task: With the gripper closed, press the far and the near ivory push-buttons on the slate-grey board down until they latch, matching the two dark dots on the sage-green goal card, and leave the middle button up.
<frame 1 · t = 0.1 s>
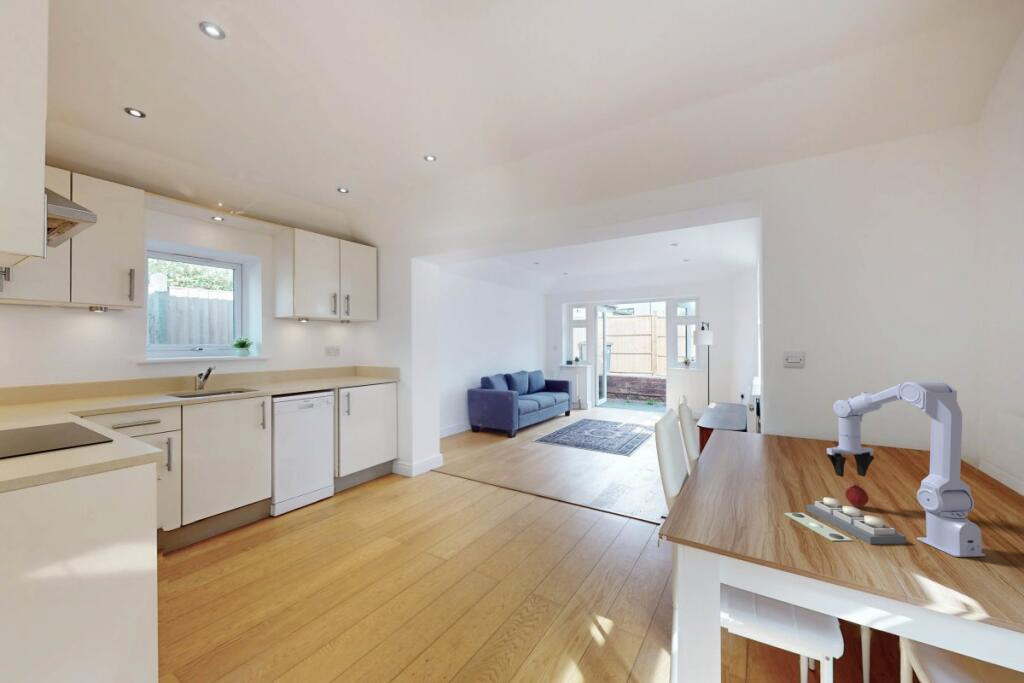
hand: (850, 475, 132), 10 cm above the table, fingers open, 7 cm apart
button middle: (851, 511, 117), point 4 cm above the table, slide at 0.0 cm
button board: (851, 525, 117), on the table
button near: (873, 521, 110), point 4 cm above the table, slide at 0.0 cm
button far: (831, 502, 124), point 4 cm above the table, slide at 0.0 cm
goal card: (816, 526, 116), on the table
onion: (857, 508, 130), on the table
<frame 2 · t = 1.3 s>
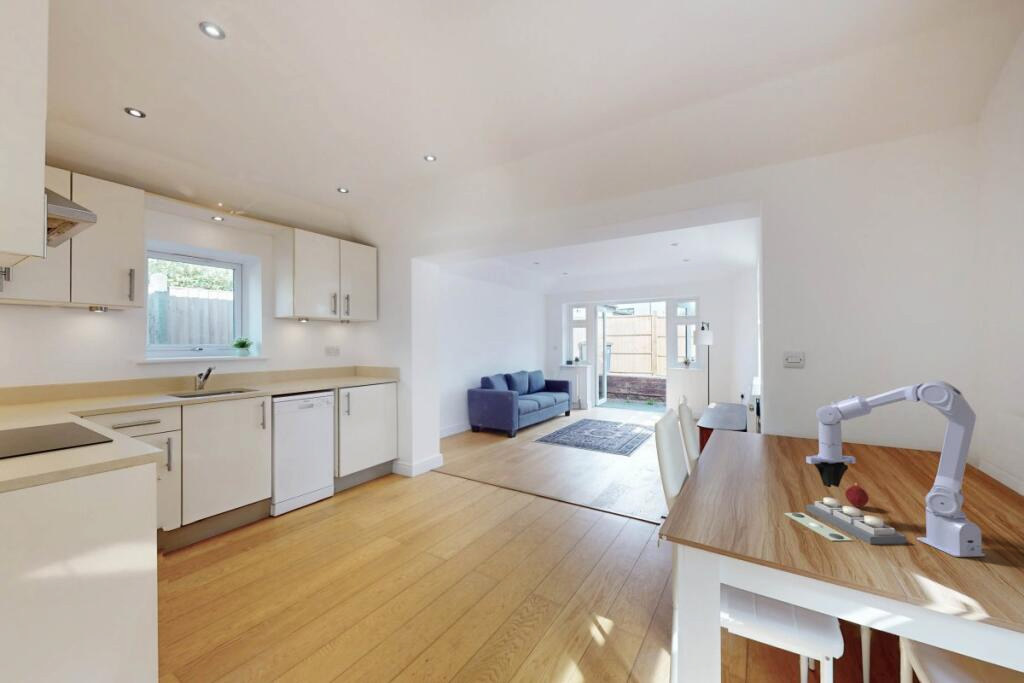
hand: (831, 486, 124), 9 cm above the table, fingers closed
nothing on the table moved.
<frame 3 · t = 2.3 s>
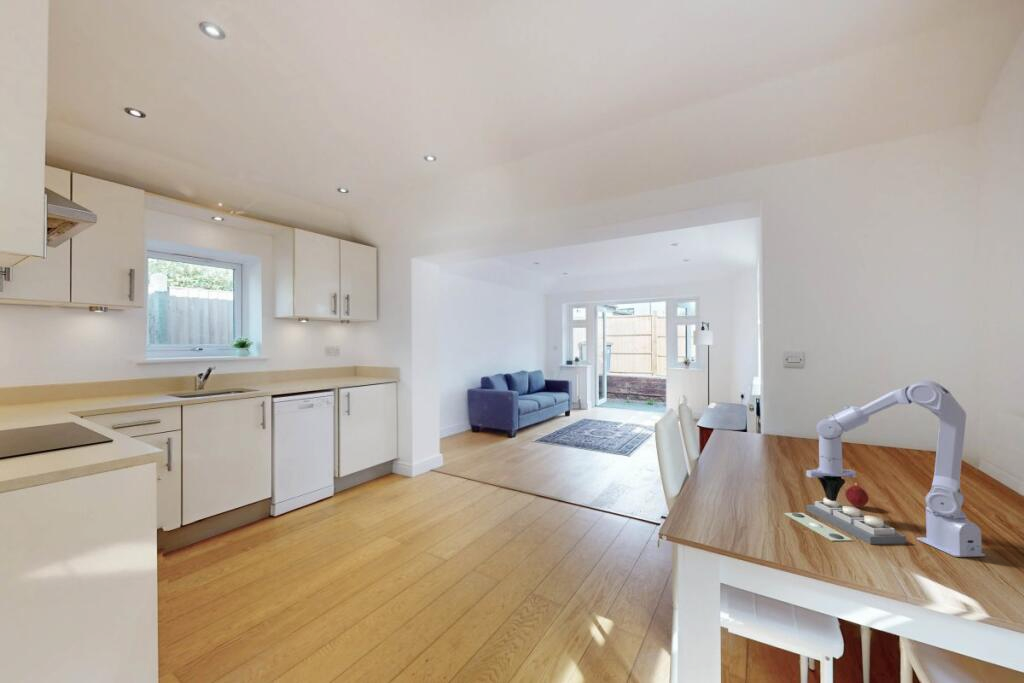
hand: (831, 499, 124), 5 cm above the table, fingers closed, pressing on button far
button far: (831, 502, 124), point 4 cm above the table, slide at 0.0 cm, touching gripper
everything else where it was.
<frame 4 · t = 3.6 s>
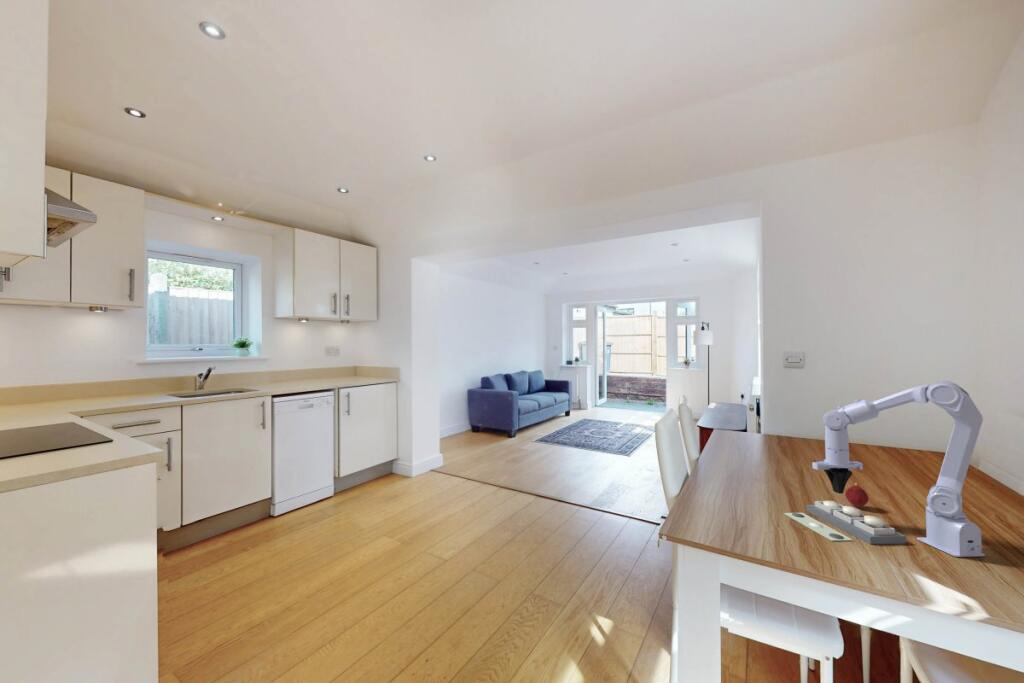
hand: (838, 492, 122), 8 cm above the table, fingers closed
button far: (831, 505, 124), point 3 cm above the table, slide at 1.1 cm
everything else where it was.
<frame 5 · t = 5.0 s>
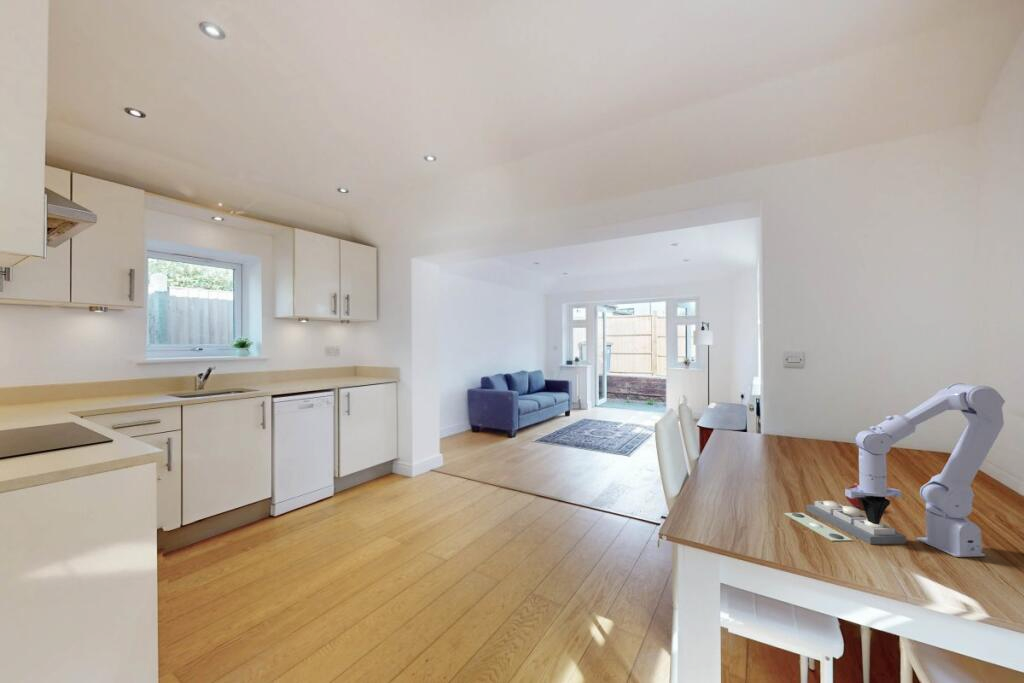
hand: (873, 522, 110), 4 cm above the table, fingers closed, pressing on button near
button near: (873, 525, 110), point 3 cm above the table, slide at 1.1 cm, touching gripper
everything else where it was.
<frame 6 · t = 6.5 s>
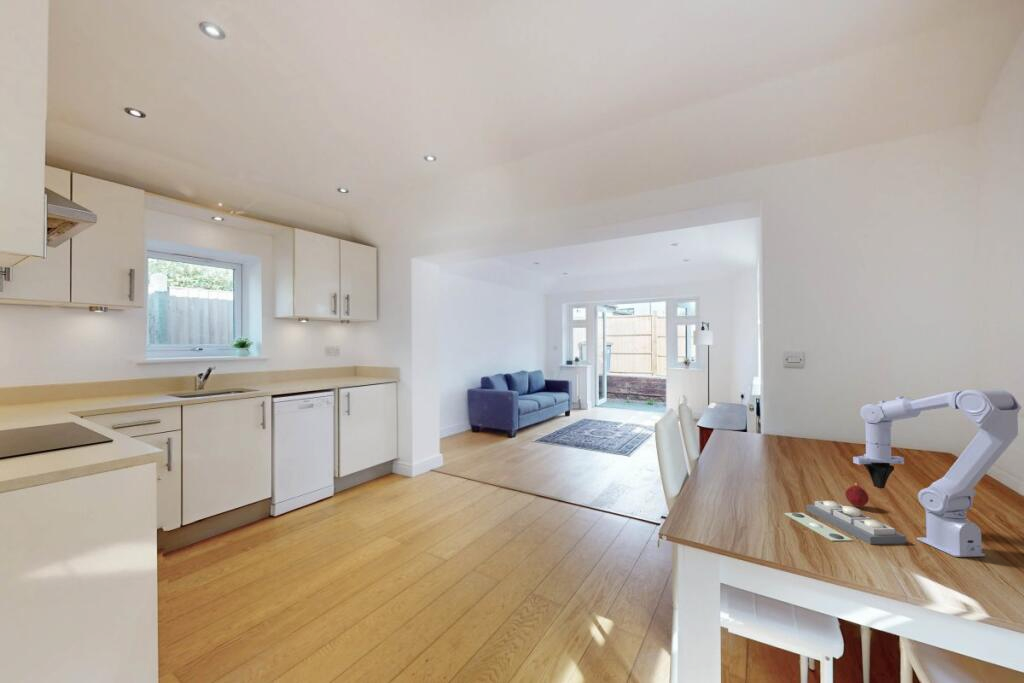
hand: (879, 487, 120), 10 cm above the table, fingers closed
button near: (873, 525, 110), point 3 cm above the table, slide at 1.1 cm
everything else where it was.
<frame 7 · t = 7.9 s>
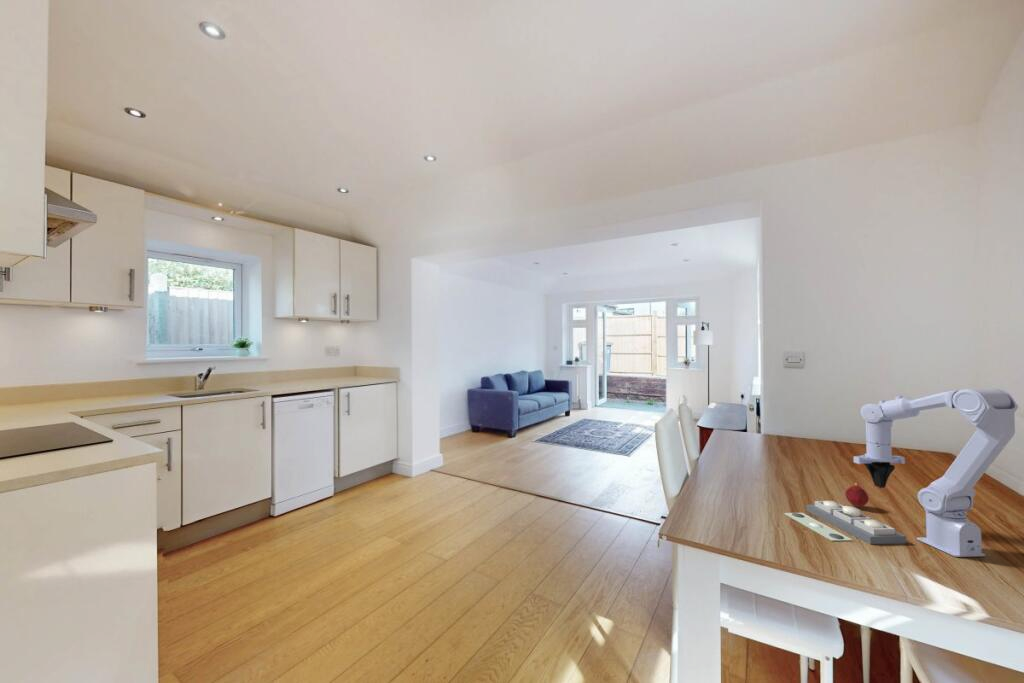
hand: (879, 486, 120), 10 cm above the table, fingers closed
nothing on the table moved.
at the end: button far slide at 1.1 cm; button near slide at 1.1 cm; button middle slide at 0.0 cm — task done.
